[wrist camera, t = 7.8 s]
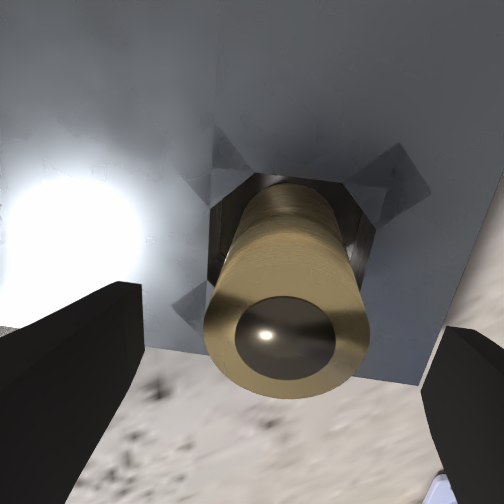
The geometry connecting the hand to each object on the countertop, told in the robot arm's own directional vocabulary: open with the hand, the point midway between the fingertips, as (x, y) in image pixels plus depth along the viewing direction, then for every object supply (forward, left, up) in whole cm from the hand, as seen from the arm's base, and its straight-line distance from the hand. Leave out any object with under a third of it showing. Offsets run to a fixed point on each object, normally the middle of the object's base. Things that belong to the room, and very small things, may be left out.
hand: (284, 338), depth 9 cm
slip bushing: (0, 0, -7) cm, 7 cm away
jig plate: (+3, -2, -7) cm, 8 cm away
